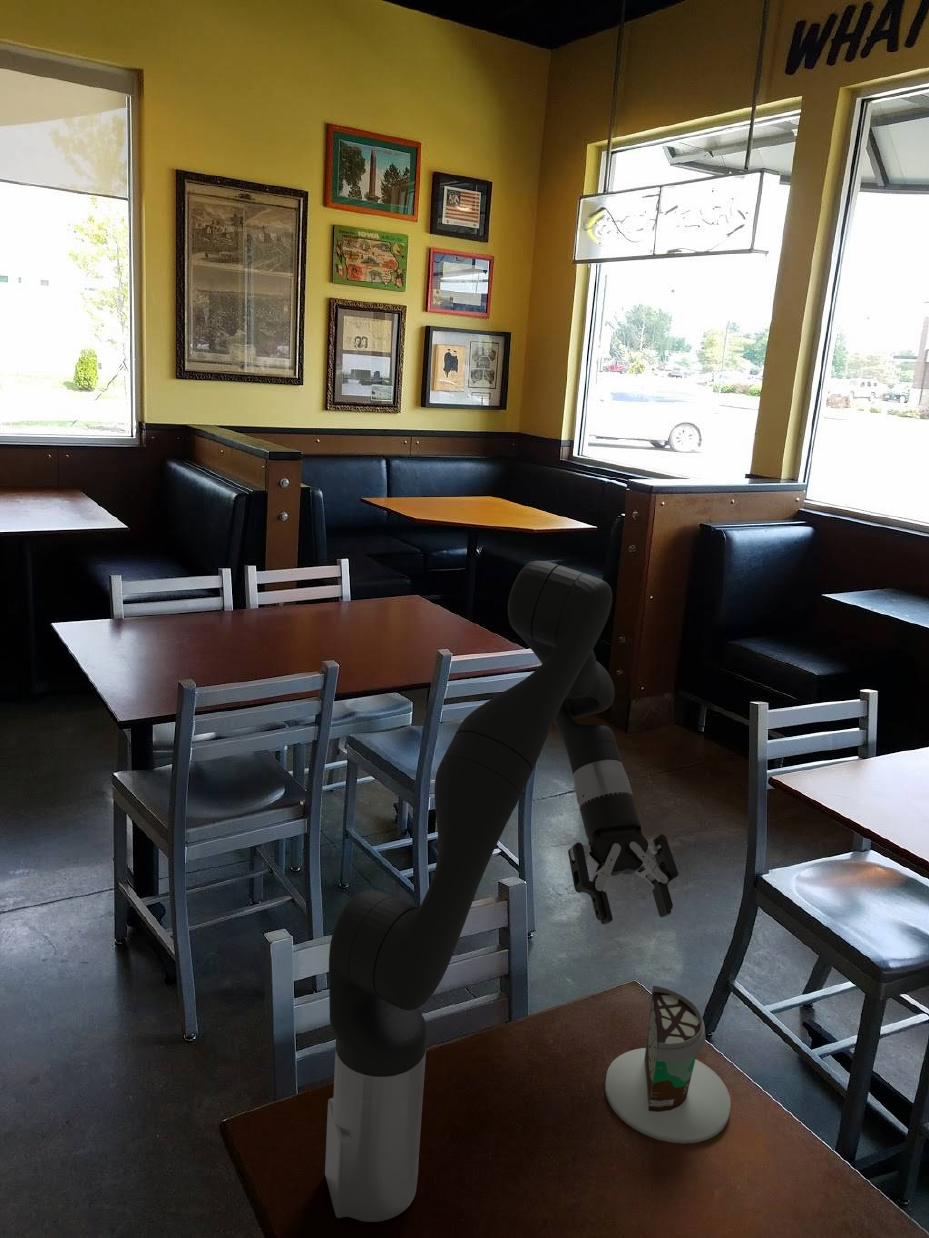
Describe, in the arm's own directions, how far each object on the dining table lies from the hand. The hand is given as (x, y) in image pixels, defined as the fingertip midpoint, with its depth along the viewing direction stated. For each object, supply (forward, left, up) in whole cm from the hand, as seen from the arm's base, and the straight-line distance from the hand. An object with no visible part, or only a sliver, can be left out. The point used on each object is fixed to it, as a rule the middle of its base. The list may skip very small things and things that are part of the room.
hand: (637, 919), depth 126 cm
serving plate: (0, -11, -18) cm, 21 cm away
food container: (+1, -11, -17) cm, 20 cm away
